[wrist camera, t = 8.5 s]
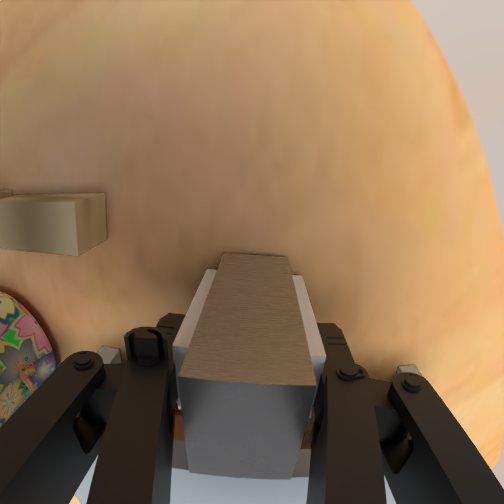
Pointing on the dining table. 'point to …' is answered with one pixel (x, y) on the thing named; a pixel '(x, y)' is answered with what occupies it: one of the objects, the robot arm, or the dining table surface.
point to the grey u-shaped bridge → (227, 488)
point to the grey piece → (247, 373)
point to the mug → (21, 356)
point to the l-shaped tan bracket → (52, 222)
